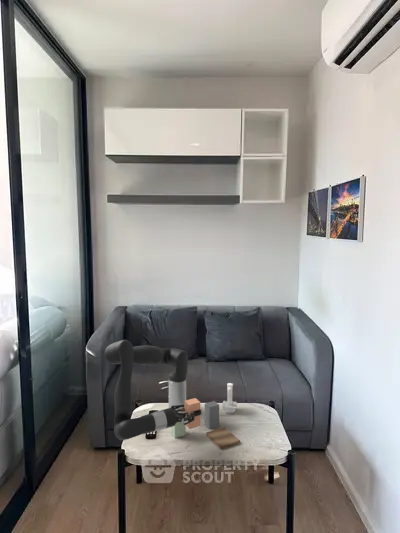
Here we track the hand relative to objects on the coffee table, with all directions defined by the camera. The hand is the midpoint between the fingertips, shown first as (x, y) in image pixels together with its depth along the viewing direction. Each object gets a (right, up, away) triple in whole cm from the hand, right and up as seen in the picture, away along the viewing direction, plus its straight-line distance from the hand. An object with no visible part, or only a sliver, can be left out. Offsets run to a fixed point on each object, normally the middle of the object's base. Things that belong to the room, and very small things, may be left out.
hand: (197, 409), depth 166 cm
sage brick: (-9, -15, +10) cm, 21 cm away
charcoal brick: (+7, -15, +18) cm, 24 cm away
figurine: (+17, -13, +33) cm, 39 cm away
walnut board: (+11, -16, +6) cm, 20 cm away
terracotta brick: (-2, -7, -1) cm, 7 cm away
